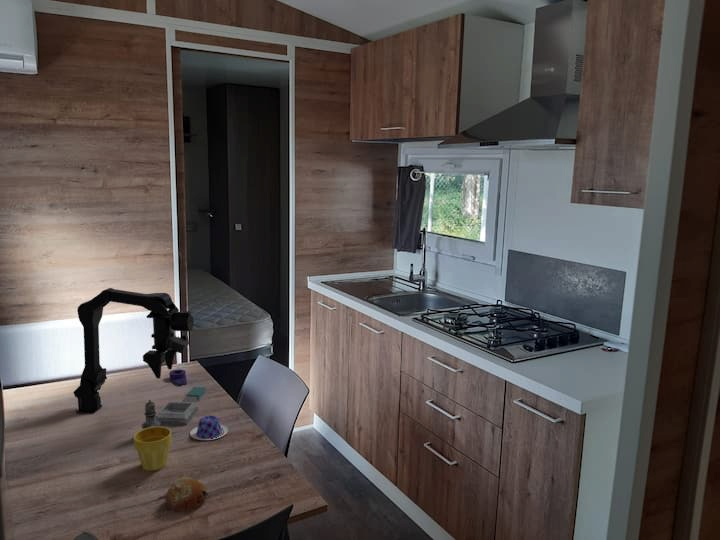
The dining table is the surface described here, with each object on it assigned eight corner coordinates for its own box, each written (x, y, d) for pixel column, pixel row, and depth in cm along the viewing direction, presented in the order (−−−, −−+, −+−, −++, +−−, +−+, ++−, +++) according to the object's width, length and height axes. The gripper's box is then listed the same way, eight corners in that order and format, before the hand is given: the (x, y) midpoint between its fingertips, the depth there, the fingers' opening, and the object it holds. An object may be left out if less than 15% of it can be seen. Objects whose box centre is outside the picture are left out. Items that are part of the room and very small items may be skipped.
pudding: (182, 439, 186) (182, 424, 185) (202, 424, 197) (201, 409, 196) (216, 444, 183) (216, 428, 182) (234, 428, 194) (234, 413, 193)
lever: (168, 378, 240) (167, 370, 239) (183, 375, 243) (183, 368, 242) (174, 387, 229) (174, 380, 229) (191, 384, 233) (190, 377, 232)
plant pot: (137, 477, 162) (135, 445, 160) (133, 461, 171) (131, 430, 169) (176, 469, 167) (174, 437, 165) (169, 453, 176) (168, 423, 174)
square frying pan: (154, 423, 197) (154, 413, 196) (186, 391, 225) (185, 382, 225) (186, 424, 196) (186, 414, 195) (213, 392, 225) (213, 383, 224)
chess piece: (154, 439, 185) (153, 404, 183) (138, 437, 186) (136, 402, 184) (164, 431, 191) (162, 397, 188) (148, 430, 192) (146, 395, 190)
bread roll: (179, 503, 156) (164, 479, 155) (213, 487, 156) (199, 462, 155) (170, 525, 147) (155, 500, 145) (207, 508, 147) (192, 482, 145)
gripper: (173, 338, 190) (175, 384, 193) (195, 324, 208) (196, 365, 211) (141, 337, 191) (143, 382, 194) (165, 322, 209) (167, 364, 212)
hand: (164, 373), depth 202 cm, fingers open, 9 cm apart
